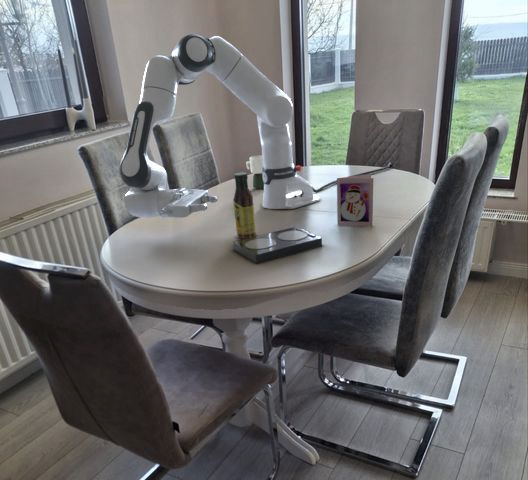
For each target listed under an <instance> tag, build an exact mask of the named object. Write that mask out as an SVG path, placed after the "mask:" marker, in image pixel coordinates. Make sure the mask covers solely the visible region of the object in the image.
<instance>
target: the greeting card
mask: <svg viewBox="0 0 528 480" xmlns="http://www.w3.org/2000/svg"><path fill="white" fill-rule="evenodd" d="M349 176H350V177H348V176H344V177H337V178H336V180H337V183H336V204H337V205H336V213H337V214H336V215H337V217H336V219H337V220H336V221H337V226H340V227H341V226H342V227H343V226H344V227H373V219H374V217H373V216H374V177H372V173H370V174H364V175H357V176H352V175H349Z"/></svg>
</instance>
